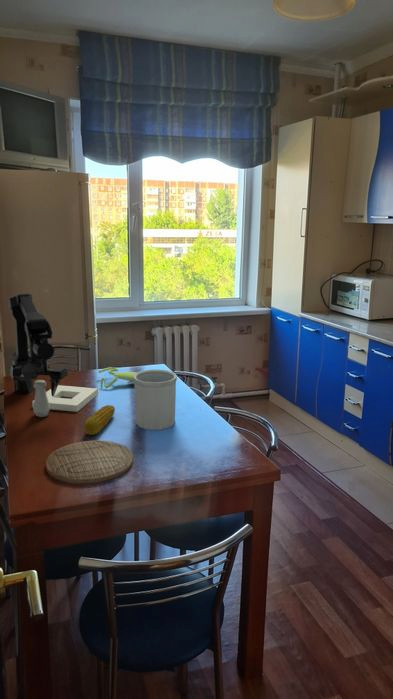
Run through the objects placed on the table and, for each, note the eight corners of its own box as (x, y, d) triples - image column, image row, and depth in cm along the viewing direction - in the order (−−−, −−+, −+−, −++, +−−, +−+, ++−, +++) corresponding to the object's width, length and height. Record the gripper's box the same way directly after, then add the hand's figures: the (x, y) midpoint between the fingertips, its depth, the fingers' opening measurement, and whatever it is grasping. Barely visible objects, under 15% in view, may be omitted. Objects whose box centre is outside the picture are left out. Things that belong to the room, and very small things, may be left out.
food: (98, 438, 167) (97, 421, 166) (81, 437, 168) (81, 420, 167) (117, 415, 187) (117, 399, 186) (103, 413, 188) (102, 398, 187)
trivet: (40, 453, 156) (40, 448, 156) (120, 440, 166) (120, 435, 166) (53, 493, 134) (53, 486, 134) (144, 475, 144) (144, 469, 144)
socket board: (32, 407, 193) (32, 401, 192) (57, 390, 212) (56, 385, 211) (77, 411, 189) (76, 405, 189) (98, 394, 208) (97, 388, 208)
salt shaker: (52, 412, 188) (50, 378, 185) (46, 418, 183) (44, 383, 179) (37, 411, 189) (35, 378, 186) (30, 417, 183) (28, 383, 180)
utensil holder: (170, 433, 172) (170, 383, 168) (128, 428, 175) (127, 380, 170) (180, 417, 186) (181, 371, 182) (141, 413, 189) (141, 368, 185)
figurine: (100, 377, 232) (99, 365, 231) (158, 377, 233) (158, 365, 232) (93, 390, 214) (93, 377, 213) (157, 390, 215) (157, 377, 214)
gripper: (1, 357, 174) (5, 400, 178) (52, 360, 171) (54, 404, 175) (19, 349, 185) (22, 390, 189) (67, 352, 181) (69, 394, 185)
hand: (41, 395), depth 184 cm, fingers open, 9 cm apart
